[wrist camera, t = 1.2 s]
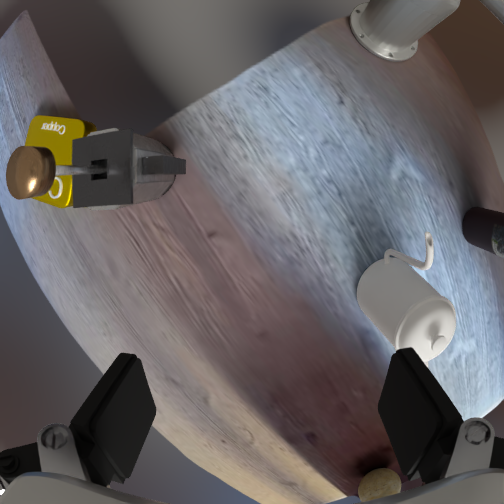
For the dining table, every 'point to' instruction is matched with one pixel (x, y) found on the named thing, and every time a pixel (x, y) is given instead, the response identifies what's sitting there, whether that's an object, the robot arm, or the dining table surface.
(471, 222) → the wine bottle
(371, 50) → the robot arm
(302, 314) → the dining table surface
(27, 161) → the plunger
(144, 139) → the grey faceted container
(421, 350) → the coffeepot
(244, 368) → the dining table surface
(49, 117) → the element tile
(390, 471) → the fossilized egg
